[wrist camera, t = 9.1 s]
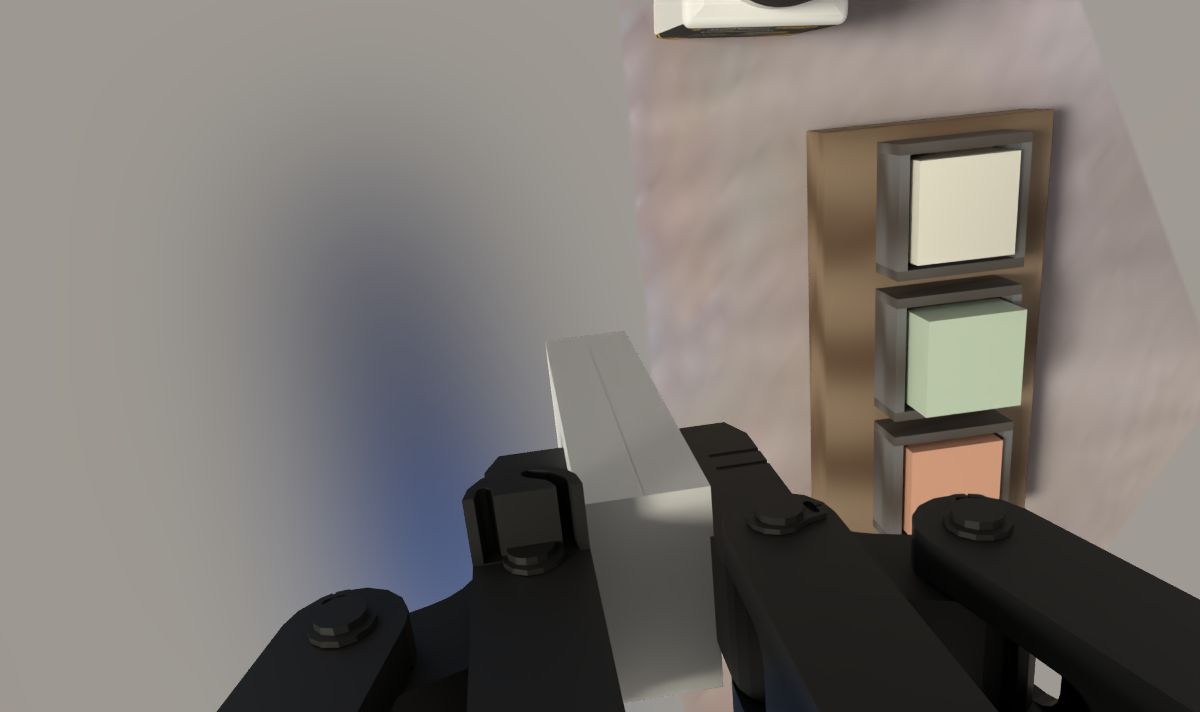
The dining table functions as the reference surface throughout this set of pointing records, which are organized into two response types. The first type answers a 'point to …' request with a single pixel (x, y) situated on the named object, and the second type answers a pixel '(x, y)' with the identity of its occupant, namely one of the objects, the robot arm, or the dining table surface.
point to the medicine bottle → (744, 17)
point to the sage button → (964, 357)
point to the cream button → (963, 205)
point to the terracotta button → (949, 471)
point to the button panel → (905, 304)
